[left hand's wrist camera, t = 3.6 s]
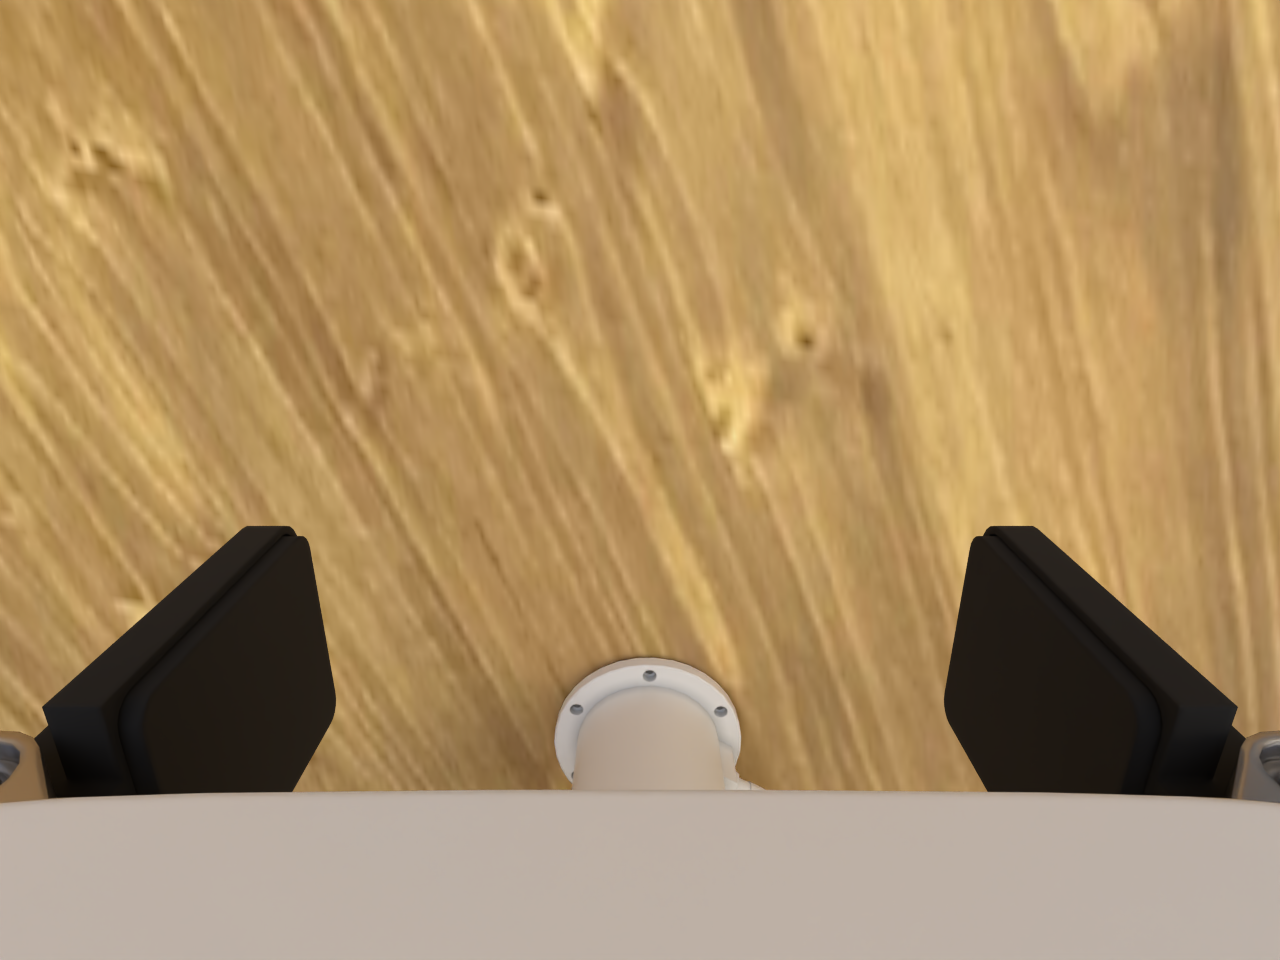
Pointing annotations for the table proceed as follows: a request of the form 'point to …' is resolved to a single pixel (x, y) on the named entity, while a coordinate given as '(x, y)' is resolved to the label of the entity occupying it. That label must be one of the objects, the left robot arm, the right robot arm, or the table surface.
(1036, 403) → the table surface
